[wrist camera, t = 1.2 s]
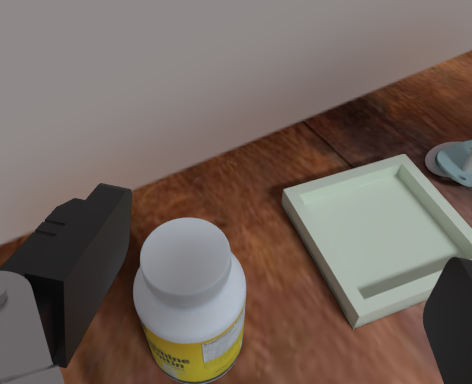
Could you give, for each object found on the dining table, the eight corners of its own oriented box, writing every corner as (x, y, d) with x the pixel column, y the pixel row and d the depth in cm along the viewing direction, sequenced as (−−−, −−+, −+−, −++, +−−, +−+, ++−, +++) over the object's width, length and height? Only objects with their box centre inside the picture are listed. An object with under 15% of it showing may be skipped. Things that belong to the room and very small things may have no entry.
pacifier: (408, 161, 44) (453, 202, 40) (428, 110, 39) (481, 151, 35) (463, 139, 46) (510, 176, 42) (488, 88, 41) (544, 125, 37)
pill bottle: (143, 314, 33) (110, 221, 24) (225, 288, 34) (223, 190, 25) (164, 403, 29) (134, 330, 20) (256, 368, 30) (267, 286, 21)
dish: (398, 169, 42) (404, 153, 41) (488, 275, 35) (501, 261, 33) (281, 204, 39) (283, 189, 38) (352, 329, 32) (359, 316, 30)
